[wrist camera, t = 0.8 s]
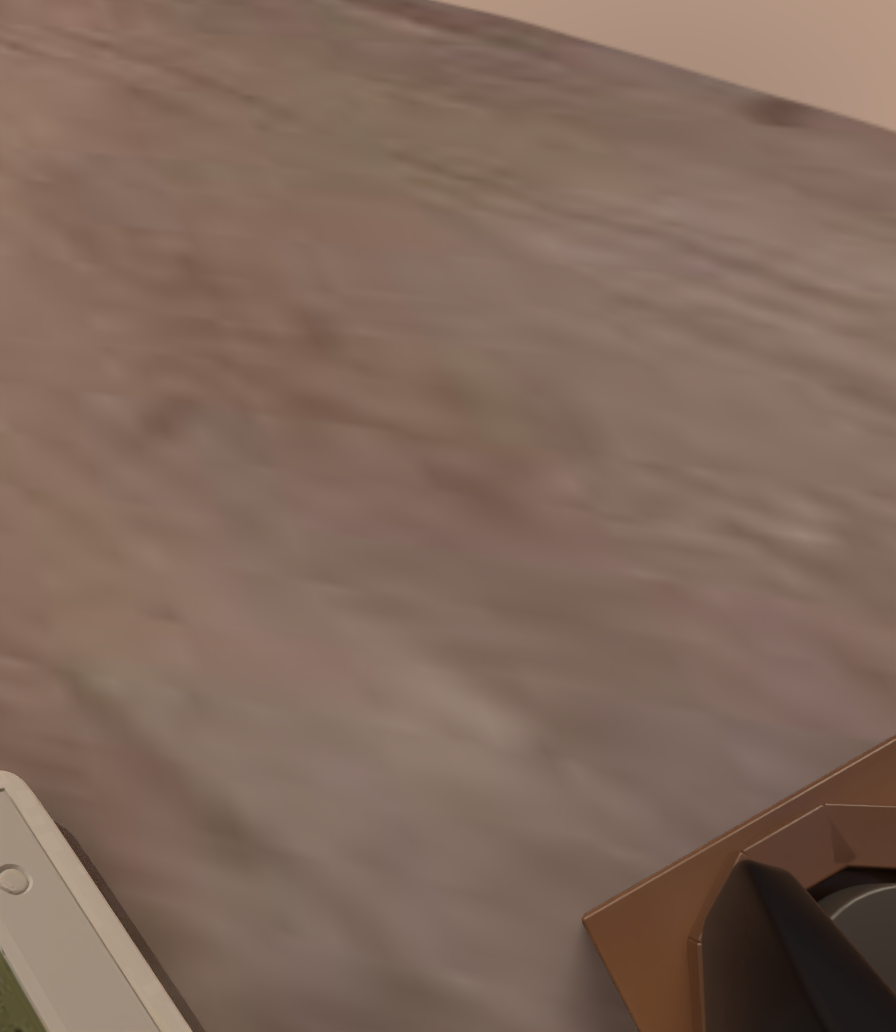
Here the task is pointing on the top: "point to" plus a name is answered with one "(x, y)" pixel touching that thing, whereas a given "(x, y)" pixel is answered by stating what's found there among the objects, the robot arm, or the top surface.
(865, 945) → the button
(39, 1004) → the digital clock
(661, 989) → the button box
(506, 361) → the top surface
